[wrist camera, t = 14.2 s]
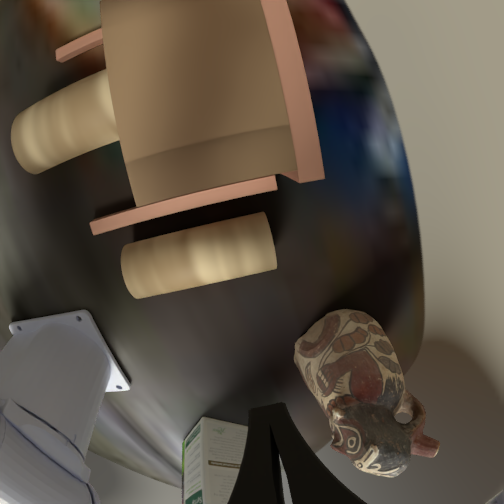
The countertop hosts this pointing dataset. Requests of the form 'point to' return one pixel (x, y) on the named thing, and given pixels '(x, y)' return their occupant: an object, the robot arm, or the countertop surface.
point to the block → (194, 94)
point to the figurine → (362, 392)
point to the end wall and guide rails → (297, 114)
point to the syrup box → (212, 461)
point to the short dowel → (199, 256)
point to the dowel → (65, 124)
